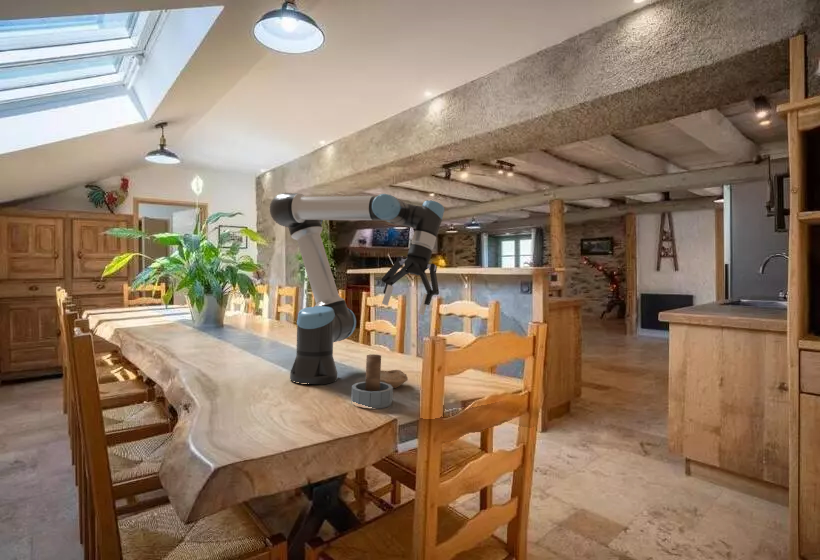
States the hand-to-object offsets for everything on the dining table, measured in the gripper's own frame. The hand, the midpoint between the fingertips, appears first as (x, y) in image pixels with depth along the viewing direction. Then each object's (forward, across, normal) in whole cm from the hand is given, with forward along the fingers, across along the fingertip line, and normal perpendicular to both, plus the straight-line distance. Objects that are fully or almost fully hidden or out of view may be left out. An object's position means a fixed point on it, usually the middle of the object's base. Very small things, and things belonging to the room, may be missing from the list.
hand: (402, 309), depth 138 cm
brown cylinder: (+27, -7, +14) cm, 31 cm away
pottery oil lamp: (+24, -1, -4) cm, 25 cm away
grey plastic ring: (+28, -7, +14) cm, 32 cm away
